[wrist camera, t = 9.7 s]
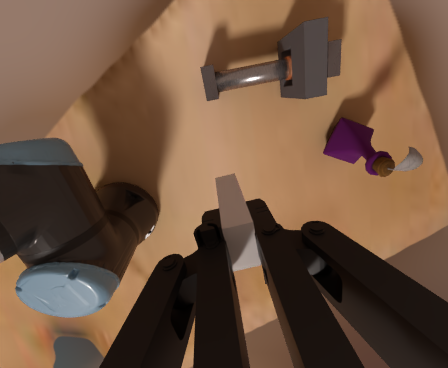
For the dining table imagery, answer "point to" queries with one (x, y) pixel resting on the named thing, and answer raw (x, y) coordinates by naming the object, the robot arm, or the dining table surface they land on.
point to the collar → (306, 59)
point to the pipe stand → (262, 73)
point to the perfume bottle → (365, 149)
